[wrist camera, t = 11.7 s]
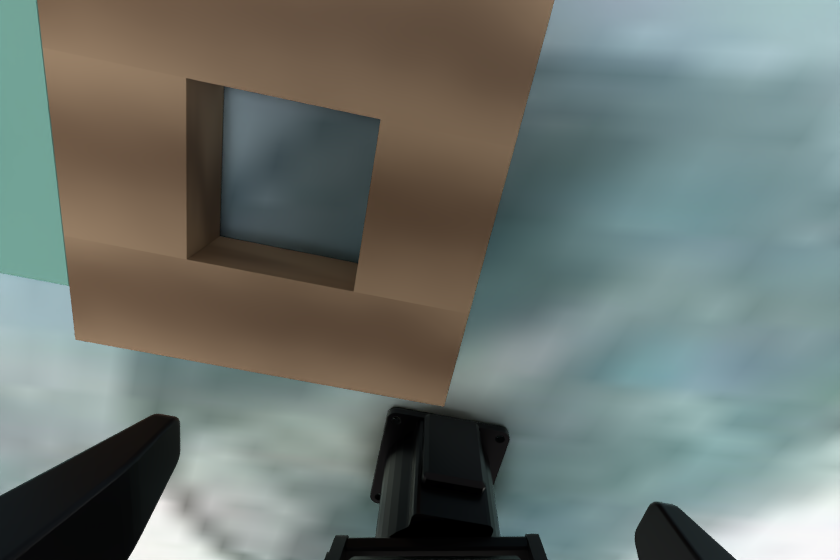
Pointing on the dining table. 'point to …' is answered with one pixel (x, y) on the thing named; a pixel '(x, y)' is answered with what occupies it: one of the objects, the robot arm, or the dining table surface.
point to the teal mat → (27, 153)
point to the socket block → (202, 168)
